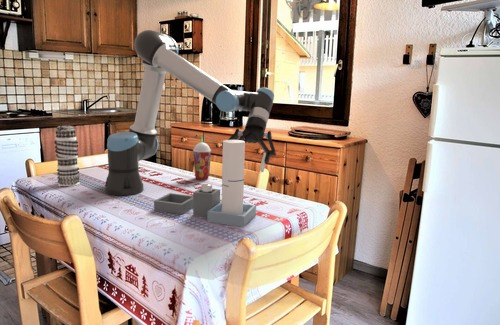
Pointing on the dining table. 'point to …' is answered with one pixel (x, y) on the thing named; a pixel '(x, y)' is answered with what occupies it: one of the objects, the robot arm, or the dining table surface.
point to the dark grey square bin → (174, 203)
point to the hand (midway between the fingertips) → (243, 168)
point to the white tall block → (233, 176)
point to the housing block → (205, 201)
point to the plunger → (207, 188)
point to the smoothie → (202, 160)
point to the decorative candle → (67, 156)
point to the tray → (231, 215)
